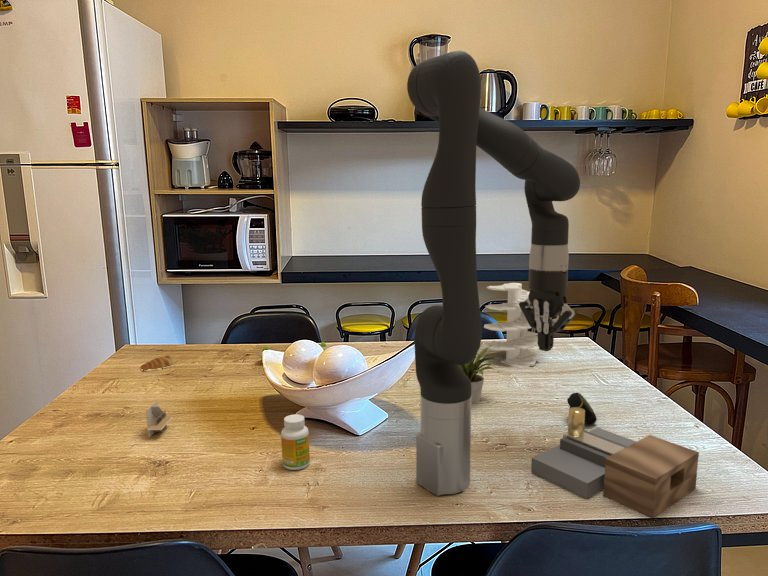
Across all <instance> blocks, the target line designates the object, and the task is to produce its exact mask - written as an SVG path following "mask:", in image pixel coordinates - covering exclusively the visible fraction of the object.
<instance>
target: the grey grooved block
mask: <svg viewBox="0 0 768 576" xmlns="http://www.w3.org/2000/svg"><path fill="white" fill-rule="evenodd" d="M584 432H585V433H588V434H590V435H593V436H595V437H598V438H601V439H603V440H606V441H609V442H611V443H614V444H616V445H619V446H622V447H624V448H626V447H628V446H630V445H632V444H634V443H635V442H637V441H635V440H633V439H631V438H627V437H625V436H622V435H619V434H617V433H614V432H612V431H610V430H609V431H608V430H606V429H603V428H600V427H596V428H593V429H590V430H589V431H587V430H585V429H584ZM607 457H609V455H607V454H604V453H602V452H599V451H597V450H594V449H592V448H589V447H587V446H584V445H582V444H579V443H577V442H574V441H572V440H569V439H567V438H563V437H562V438H560V439H559V444H558V445H556V446H554V447H552V448H550V449H548V450H546V451H542V452H540V453H539V454H537V455H534V456H532V457H531V464H530V465H531V469H530V472H531V473H532V474H534V475H536V476H538V477H539V478H542V479H545V480H546V481H548V482H551V483H553V484H555V485H557V486H558V487H560V488H563V489H564V490H566V491H569V492H571V493H574V494H575V495H578V496H579V497H581V498H583V499H585V500H587V499H589V498H591V497H593V496H594V495H597V494H598V493H600V492H601V491H603V488H604V477H605V458H607Z"/></svg>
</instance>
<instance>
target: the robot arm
mask: <svg viewBox="0 0 768 576" xmlns="http://www.w3.org/2000/svg"><path fill="white" fill-rule="evenodd" d="M406 87H407V88H406V90H407V95H408V97H409V100H410V102H411V104H412V105H413V107H414V108H415V109H416V110H417V111H419V112H420V113H421V114H422V115H424V116H426V117H428V118H429V119H431V120H433V121H435V122H437V123H438V145H437V149H436V154H435V156H434V158H433V159H434V160H433V162H432V165H431V166H430V169H429V172H428V175H427V178H426V180H425V183H424V185H423V190H422V193H421V202H420V203H421V204H420V205H421V206H420V207H421V232H422V239H423V243H424V245H425V248H426V250H427V253H428V256H429V257H430V259H431V262H432V264H433V266H434V268H435V272H436V275H437V276H438V279H439V282H440V288H441V297H442V301H441V302H442V305H431V306H428V307H426V308H425V309H424V310H423V311H422V312H421V313H420V315H419V317H418V319H417V321H416V324H415V326H414V327H415V328H414V341H413V342H414V360H415V361H414V364H415V373H416V374H415V376H416V379H417V382H418V384H419V387H420V389H419V390H420V433H418V434H417V435H416V437H415V439H416V441H415V445H416V446H415V447H416V450H415V453H416V454H415V455H416V460H415V461H416V463H415V464H416V465H415V466H416V469H415V472H416V473H415V474H416V476H415V478H416V479H415V480H416V483H417V484H418V485H419V486H422V488H424V489H426V490H428V491H429V492H431V493H433V494H434V495H436V496H438V497H440V496H441V495H451V494H452V495H453V494H457V493H461V492H463V491H465V490H466V489H468V488H469V486H470V483H471V445H472V444H471V441H472V440H471V438H472V437H471V436H472V434H471V433H472V428H471V427H472V404H471V381H470V379H469V378H468V376H467V375H466V374H465V373H464V372H463V371H462V369H461V368H460V366H459V365H463V364H467V363H469V362H470V361H471V360H473V358H474V357H475V356H476V357H477V355H476V354H477V353H478V352H479V350H480V348H481V347H480V344H481V343H482V336H483V335H482V332H483V329H482V315H481V308H480V298H479V296H480V295H479V289H478V288H479V287H478V274H477V273H478V271H477V270H478V269H477V242H476V241H477V240H476V239H477V195H476V185H477V184H476V181H477V180H476V178H477V177H476V175H477V174H476V173H477V147H478V148H479V149H481V150H482V151H483V152H485V154H487V155H488V156H490V157H491V158H492V159H494V160H495V162H498V164H500V166H502V168H504V169H506V170H507V171H508V172H509V173H510V174H512V175H513V176H514V177H515V178H518V179H519V180H520V179H521V180H524V187H523V188H524V195H525V200H526V204H527V207H528V208H527V209H528V213H529V216H530V222H531V240H530V241H531V242H530V243H531V244H530V251H529V263H528V264H529V265H528V289H529V292H530V293H529V295H528V299H527V300H525V301H523V302H520V303H519V306H520V308H521V310H522V312H523V314H524V316H525V317H526V319H527V321H528V323H529V325H530V327H532V328H531V329H533V328H534V329H535V330H536V331H537V333H538V335H537V337H538V344H537V346H538V349H539V351H542V352H548V351H551V350H552V349H553V347H554V341H555V340H554V339H555V338H554V335H555V333H559V332H561V331H563V330H565V329H566V327H567V326H568V325H569V323H570V322H571V321H572V320H573V319H574V318H575V316H576V315H577V314H578V311H577V310H576V309H575V308H573V309H572V308H571V307H570V306H569V305H568V298H567V295H566V293H567V290H568V283H569V282H568V281H569V279H568V278H569V261H570V258H569V255H570V254H569V245H568V244H569V227H570V225H569V224H570V222H569V219H568V217H567V215H564V214H562V213H559V212H557V211H556V210H555V207H554V204H553V202H566V201H570V200H571V199H573V198H574V197H576V196H577V194H578V193H579V191H580V187H581V180H580V175H579V174H580V173H578V170H577V169H576V168H575V166H574V165H573V164H572V163H570V162H569V161H567V160H566V159H564V158H562V157H561V156H559V155H557V154H555V153H553V152H552V151H549V150H547V149H545V148H543V147H542V146H541V145H540V144H538V142H537V141H535V140H534V139H533V137H531V136H530V135H529V134H528V133H527V132H525V130H524V129H522V128H521V127H519V126H518V125H516V124H514V123H513V122H511V121H509V120H507V119H505V118H502V117H500V116H498V115H496V114H493V113H492V112H489V111H488V110H485V109H483V107H481V99H482V98H481V95H482V82H481V74H480V71H479V67H478V64H477V62H476V61H475V59H474V57H473V56H472V55H471V54H469V53H468V52H466V51H463V50H456V51H449V52H446V53H443V54H440V55H438V56H434V57H431V58H428V59H426V60H423V61H421V62H419V63H418V64H417V65H415V66H414V67H413V68H412V69H411V71H410V73H409V74H408V78H407V84H406ZM559 315H560V316H559ZM479 347H480V348H479Z"/></svg>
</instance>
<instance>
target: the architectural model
mask: <svg viewBox="0 0 768 576" xmlns="http://www.w3.org/2000/svg"><path fill="white" fill-rule="evenodd" d="M145 412H146V423H147V428H146V431H147V434H148V436H147V437H148V439H150V438H151V437H152V436H153V435H154V434H155V433H157V432H159V433H162V432H163V431H164V428H167V427H168V425H167V424H168V423H169V422H170V421H171V420H172V419H173V415H167V410H166V409H164V410H163V409H162V408H161V407H160V406H159V405H158V401H157V400H155V401H154V402H152V404H151V405H150V406H149V407H148V408H147V409H146V410H145Z"/></svg>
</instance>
